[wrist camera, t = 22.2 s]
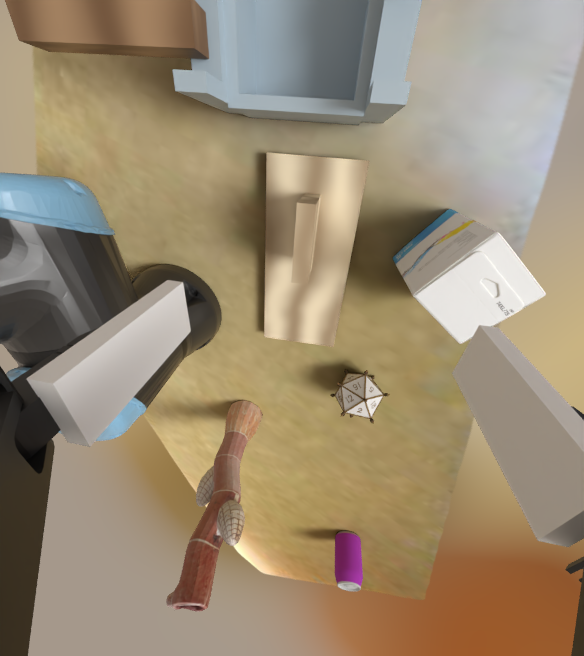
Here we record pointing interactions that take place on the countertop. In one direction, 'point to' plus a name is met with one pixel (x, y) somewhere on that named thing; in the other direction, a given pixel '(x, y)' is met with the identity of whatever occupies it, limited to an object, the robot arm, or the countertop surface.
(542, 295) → the ink box
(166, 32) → the cross bar
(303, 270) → the lid
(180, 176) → the countertop surface
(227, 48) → the grey box with brackets
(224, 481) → the vase
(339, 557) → the beverage can
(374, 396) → the game die
